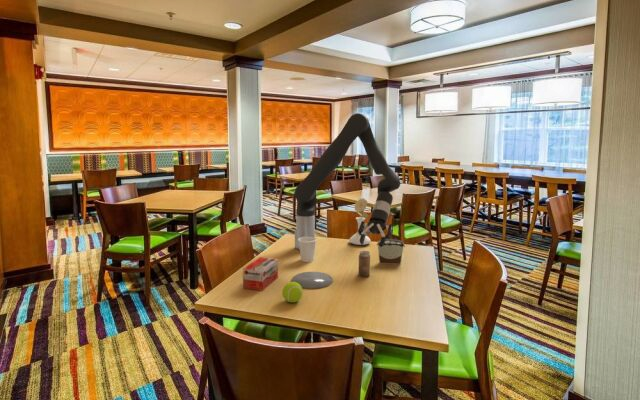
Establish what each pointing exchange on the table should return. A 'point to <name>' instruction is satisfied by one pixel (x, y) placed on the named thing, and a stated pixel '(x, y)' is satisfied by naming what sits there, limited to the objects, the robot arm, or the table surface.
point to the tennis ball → (292, 292)
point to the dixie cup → (307, 248)
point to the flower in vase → (360, 206)
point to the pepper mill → (364, 264)
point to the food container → (390, 251)
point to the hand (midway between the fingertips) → (371, 244)
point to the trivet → (313, 280)
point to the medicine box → (260, 273)
